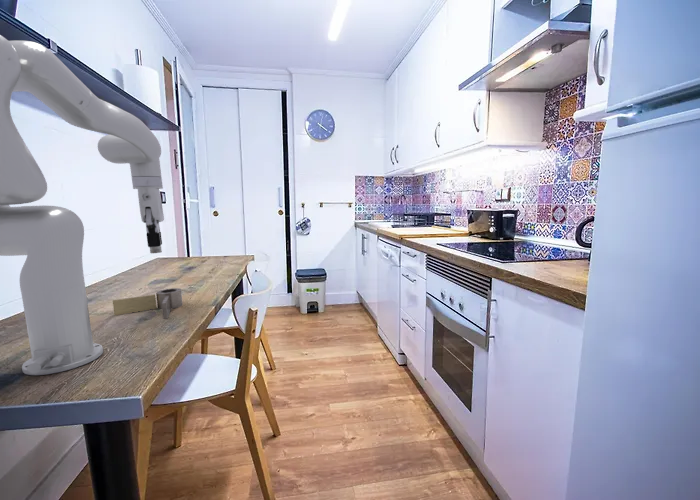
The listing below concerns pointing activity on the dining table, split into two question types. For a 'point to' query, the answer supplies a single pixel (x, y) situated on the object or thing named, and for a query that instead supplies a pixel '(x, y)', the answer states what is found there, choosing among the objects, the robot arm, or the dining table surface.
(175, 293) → the hinge leaf
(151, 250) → the pin
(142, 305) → the hinge leaf
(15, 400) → the dining table surface
